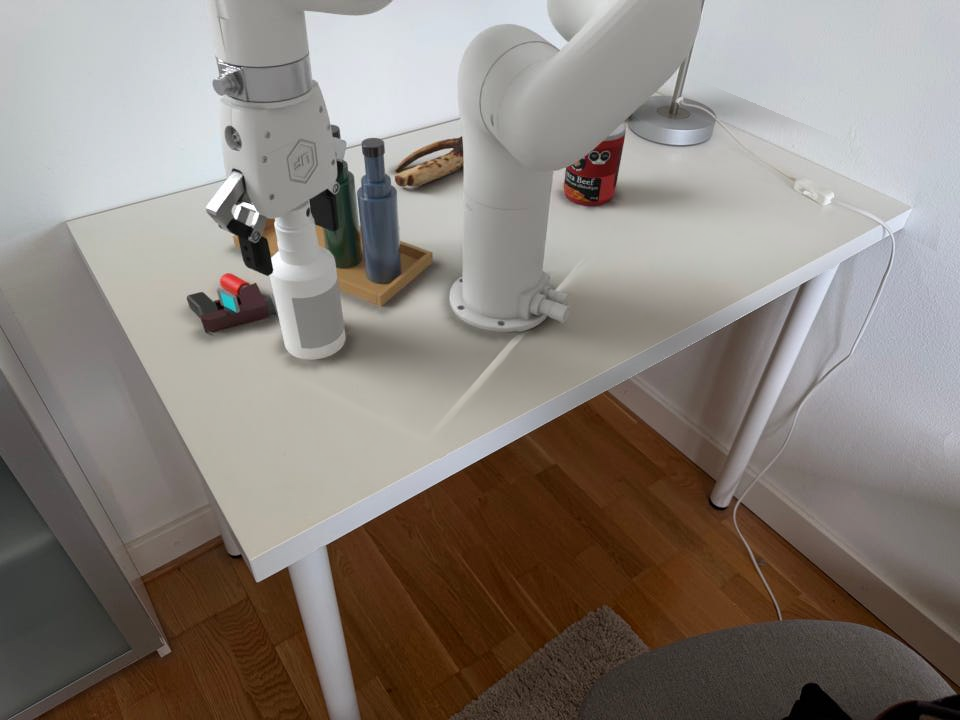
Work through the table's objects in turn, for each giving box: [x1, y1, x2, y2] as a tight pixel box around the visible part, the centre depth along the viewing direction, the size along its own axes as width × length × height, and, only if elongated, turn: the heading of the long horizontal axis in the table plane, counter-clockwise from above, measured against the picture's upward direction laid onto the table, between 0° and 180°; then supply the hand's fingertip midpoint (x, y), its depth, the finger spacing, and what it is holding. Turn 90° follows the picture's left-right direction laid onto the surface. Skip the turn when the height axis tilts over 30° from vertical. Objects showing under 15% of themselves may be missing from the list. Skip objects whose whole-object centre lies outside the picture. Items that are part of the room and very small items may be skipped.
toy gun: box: [186, 272, 278, 336], centre depth 81 cm, size 10×12×5 cm
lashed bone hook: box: [394, 135, 464, 188], centre depth 108 cm, size 9×5×18 cm
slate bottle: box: [356, 137, 402, 284], centre depth 82 cm, size 5×5×18 cm
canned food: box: [563, 122, 627, 207], centre depth 102 cm, size 8×8×11 cm
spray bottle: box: [269, 200, 347, 361], centre depth 72 cm, size 7×7×18 cm
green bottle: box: [322, 124, 363, 268], centre depth 84 cm, size 5×5×18 cm
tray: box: [232, 211, 434, 307], centre depth 90 cm, size 24×11×2 cm, turn 59°
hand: (294, 247), depth 69 cm, fingers open, 9 cm apart
